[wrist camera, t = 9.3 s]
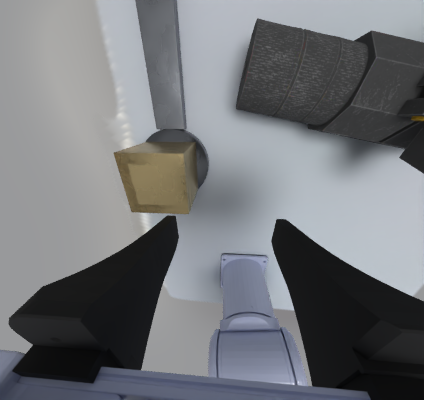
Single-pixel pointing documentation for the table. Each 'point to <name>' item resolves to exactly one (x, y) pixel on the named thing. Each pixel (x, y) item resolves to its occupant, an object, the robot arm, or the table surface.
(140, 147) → the wood grain cube
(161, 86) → the ratchet
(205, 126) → the table surface
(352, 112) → the laser sight
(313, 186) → the table surface
